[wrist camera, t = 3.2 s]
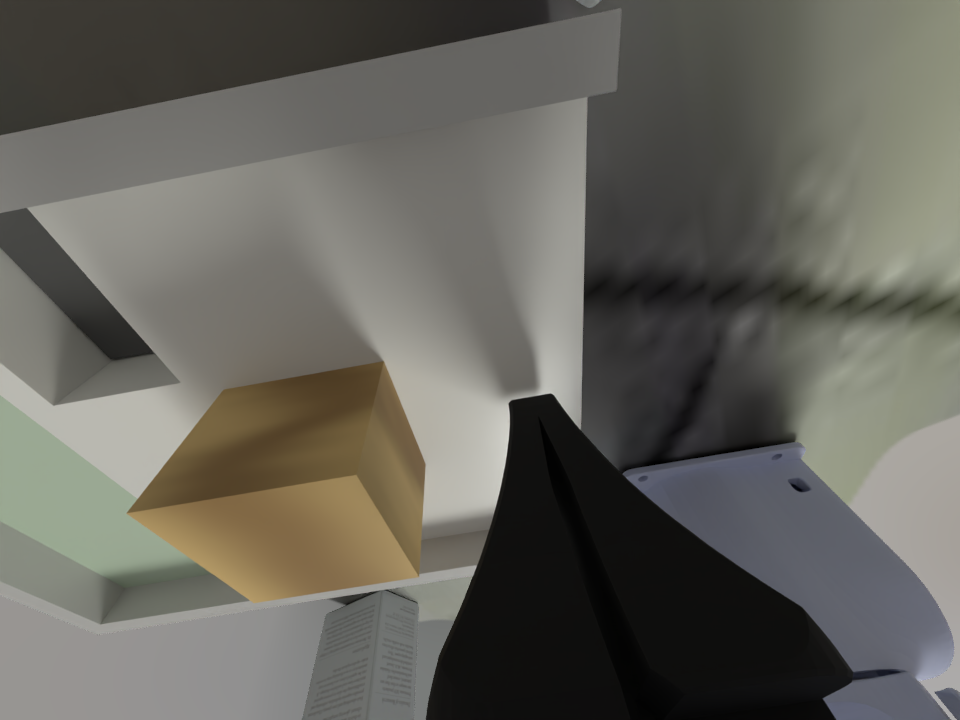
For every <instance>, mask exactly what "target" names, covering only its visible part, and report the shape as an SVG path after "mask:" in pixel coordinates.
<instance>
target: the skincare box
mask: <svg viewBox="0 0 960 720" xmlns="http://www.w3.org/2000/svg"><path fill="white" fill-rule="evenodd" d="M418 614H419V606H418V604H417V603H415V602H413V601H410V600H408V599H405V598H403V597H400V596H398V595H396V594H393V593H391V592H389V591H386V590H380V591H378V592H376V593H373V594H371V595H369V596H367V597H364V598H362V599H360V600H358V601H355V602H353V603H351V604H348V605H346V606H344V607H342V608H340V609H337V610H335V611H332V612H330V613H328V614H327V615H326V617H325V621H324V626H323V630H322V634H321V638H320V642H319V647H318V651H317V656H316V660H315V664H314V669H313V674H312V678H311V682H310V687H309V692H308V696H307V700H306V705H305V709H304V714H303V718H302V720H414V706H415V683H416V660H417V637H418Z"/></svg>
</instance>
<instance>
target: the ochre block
mask: <svg viewBox="0 0 960 720" xmlns="http://www.w3.org/2000/svg"><path fill="white" fill-rule="evenodd" d="M425 467H426V464H425V461H424V459H423V456H422V454H421V451H420V449H419V446H418V444H417V441H416V439H415V436H414V434H413V431H412V429H411V427H410V424H409V422H408V419H407V417H406V414H405V412H404V409H403V407H402V404H401V402H400V399H399V397H398V394H397V392H396V390H395V387H394V385H393V382H392V380H391V377H390V375H389V372H388V370H387V367H386V365H385V362H384V361H382V362H376V363H371V364H365V365H360V366H354V367H348V368H343V369H337V370H331V371H326V372H320V373H315V374H309V375H303V376H298V377H292V378H286V379H281V380H275V381H269V382H264V383H258V384H253V385H247V386H241V387H236V388H230V389H224V390H223V391H222V392H221V393H220V395H219V396H218V397H217V399H216V400H215V401H214V402H213V404H212V405H211V406H210V407H209V409H208V410H207V411H206V413H205V414H204V415H203V416H202V418H201V419H200V420H199V421H198V423H197V424H196V425H195V427H194V428H193V429H192V430H191V432H190V433H189V434H188V435H187V437H186V438H185V439H184V441H183V442H182V443H181V444H180V446H179V447H178V448H177V449H176V451H175V452H174V453H173V455H172V456H171V457H170V458H169V460H168V461H167V462H166V463H165V465H164V466H163V467H162V469H161V470H160V471H159V472H158V474H157V475H156V476H155V477H154V479H153V480H152V481H151V483H150V484H149V485H148V486H147V488H146V489H145V490H144V491H143V493H142V494H141V495H140V497H139V498H138V499H137V500H136V502H135V503H134V504H133V505H132V507H131V508H130V509H129V511H128V512H127V513H126V514H128V515H129V516H131V517H132V518H133V519H135V520H136V521H138V522H139V523H141V524H142V525H143V526H145V527H146V528H148V529H149V530H150V531H152V532H153V533H155V534H156V535H158V536H159V537H160V538H162V539H163V540H165V541H166V542H168V543H169V544H170V545H172V546H173V547H175V548H176V549H177V550H179V551H180V552H182V553H183V554H185V555H186V556H187V557H189V558H190V559H192V560H193V561H195V562H196V563H197V564H199V565H200V566H202V567H203V568H205V569H206V570H207V571H209V572H210V573H212V574H213V575H214V576H216V577H217V578H219V579H220V580H222V581H223V582H224V583H226V584H227V585H229V586H230V587H232V588H233V589H234V590H236V591H237V592H239V593H240V594H241V595H243V596H244V597H246V598H247V599H249V600H250V601H251V602H253V603H259V602H265V601H271V600H278V599H284V598H290V597H297V596H303V595H309V594H316V593H322V592H328V591H335V590H341V589H347V588H354V587H360V586H366V585H373V584H379V583H386V582H392V581H398V580H405V579H411V578H417V577H419V572H420V554H421V537H422V519H423V502H424V484H425Z"/></svg>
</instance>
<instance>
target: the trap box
mask: <svg viewBox="0 0 960 720" xmlns="http://www.w3.org/2000/svg"><path fill="white" fill-rule="evenodd" d="M621 12H622V8H619V9H614V10H610V11H605V12H600V13H595V14H590V15H585V16H580V17H575V18H570V19H566V20H561V21H556V22H551V23H546V24H541V25H536V26H531V27H527V28H522V29H517V30H512V31H507V32H502V33H497V34H492V35H488V36H483V37H478V38H473V39H468V40H463V41H458V42H453V43H449V44H444V45H439V46H434V47H429V48H424V49H419V50H414V51H409V52H405V53H400V54H395V55H390V56H385V57H380V58H375V59H370V60H366V61H361V62H356V63H351V64H346V65H341V66H336V67H331V68H327V69H322V70H317V71H312V72H307V73H302V74H297V75H292V76H287V77H283V78H278V79H273V80H268V81H263V82H258V83H253V84H248V85H244V86H239V87H234V88H229V89H224V90H219V91H214V92H209V93H205V94H200V95H195V96H190V97H185V98H180V99H175V100H170V101H166V102H161V103H156V104H151V105H146V106H141V107H136V108H131V109H126V110H122V111H117V112H112V113H107V114H102V115H97V116H92V117H87V118H83V119H78V120H73V121H68V122H63V123H58V124H53V125H48V126H44V127H39V128H34V129H29V130H24V131H19V132H14V133H9V134H4V135H0V596H3V597H5V598H8V599H10V600H13V601H15V602H18V603H20V604H23V605H25V606H27V607H30V608H32V609H35V610H37V611H40V612H42V613H45V614H47V615H50V616H52V617H55V618H57V619H59V620H62V621H65V622H67V623H69V624H72V625H74V626H77V627H79V628H82V629H84V630H87V631H89V632H91V633H94V634H97V635H100V634H106V633H112V632H119V631H125V630H131V629H138V628H144V627H150V626H156V625H163V624H170V623H176V622H182V621H189V620H195V619H201V618H208V617H214V616H221V615H227V614H233V613H239V612H246V611H252V610H259V609H265V608H272V607H278V606H284V605H290V604H297V603H303V602H309V601H316V600H323V599H329V598H335V597H342V596H348V595H354V594H361V593H367V592H374V591H380V590H386V589H393V588H399V587H405V586H412V585H418V584H424V583H431V582H437V581H444V580H450V579H456V578H463V577H469V576H473V575H474V572H475V570H476V567H477V564H478V562H479V559H480V556H481V553H482V550H483V547H484V544H485V541H486V538H487V535H488V532H489V529H490V525H491V522H492V519H493V515H494V512H495V508H496V504H497V500H498V496H499V492H500V488H501V483H502V478H503V473H504V468H505V463H506V457H507V449H508V441H509V429H510V412H509V405H508V403H509V402H510V401H511V400H515V399H521V398H526V397H532V396H538V395H544V394H550V393H551V394H553V395H554V396H555V397H556V399H557V400H558V402H559V403H560V404H561V406H562V407H563V409H564V410H565V411H566V413H567V414H568V415H569V417H570V418H571V419H572V420H573V422H574V423H575V424H576V425H577V426H578V428H579V429H580V430H581V402H582V350H583V299H584V247H585V195H586V143H587V97H590V96H595V95H600V94H605V93H610V92H615V91H617V80H618V63H619V46H620V29H621ZM382 361H384V362H385V365H386V367H387V370H388V372H389V375H390V377H391V380H392V382H393V385H394V387H395V390H396V392H397V394H398V397H399V399H400V402H401V404H402V407H403V409H404V412H405V414H406V417H407V419H408V422H409V424H410V427H411V429H412V431H413V434H414V436H415V439H416V441H417V444H418V446H419V449H420V451H421V454H422V456H423V459H424V461H425V464H426V467H425V484H424V502H423V519H422V537H421V554H420V572H419V577H417V578H411V579H405V580H398V581H392V582H386V583H379V584H373V585H366V586H360V587H354V588H347V589H341V590H335V591H328V592H322V593H316V594H309V595H303V596H297V597H290V598H284V599H278V600H271V601H265V602H259V603H253V602H251V601H250V600H249V599H247V598H246V597H244V596H243V595H241V594H240V593H239V592H237V591H236V590H234V589H233V588H232V587H230V586H229V585H227V584H226V583H224V582H223V581H222V580H220V579H219V578H217V577H216V576H214V575H213V574H212V573H210V572H209V571H207V570H206V569H205V568H203V567H202V566H200V565H199V564H197V563H196V562H195V561H193V560H192V559H190V558H189V557H187V556H186V555H185V554H183V553H182V552H180V551H179V550H177V549H176V548H175V547H173V546H172V545H170V544H169V543H168V542H166V541H165V540H163V539H162V538H160V537H159V536H158V535H156V534H155V533H153V532H152V531H150V530H149V529H148V528H146V527H145V526H143V525H142V524H141V523H139V522H138V521H136V520H135V519H133V518H132V517H131V516H129V515H128V514H126V513H127V512H128V511H129V509H130V508H131V507H132V505H133V504H134V503H135V502H136V500H137V499H138V498H139V497H140V495H141V494H142V493H143V491H144V490H145V489H146V488H147V486H148V485H149V484H150V483H151V481H152V480H153V479H154V477H155V476H156V475H157V474H158V472H159V471H160V470H161V469H162V467H163V466H164V465H165V463H166V462H167V461H168V460H169V458H170V457H171V456H172V455H173V453H174V452H175V451H176V449H177V448H178V447H179V446H180V444H181V443H182V442H183V441H184V439H185V438H186V437H187V435H188V434H189V433H190V432H191V430H192V429H193V428H194V427H195V425H196V424H197V423H198V421H199V420H200V419H201V418H202V416H203V415H204V414H205V413H206V411H207V410H208V409H209V407H210V406H211V405H212V404H213V402H214V401H215V400H216V399H217V397H218V396H219V395H220V393H221V392H222V391H223V390H224V389H230V388H236V387H241V386H247V385H253V384H258V383H264V382H269V381H275V380H281V379H286V378H292V377H298V376H303V375H309V374H315V373H320V372H326V371H331V370H337V369H343V368H348V367H354V366H360V365H365V364H371V363H376V362H382Z"/></svg>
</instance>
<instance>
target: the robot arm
mask: <svg viewBox="0 0 960 720" xmlns="http://www.w3.org/2000/svg"><path fill="white" fill-rule="evenodd" d="M508 405H509V412H510V429H509V441H508V449H507V457H506V463H505V468H504V473H503V478H502V483H501V488H500V492H499V496H498V500H497V504H496V508H495V512H494V515H493V519H492V522H491V525H490V529H489V532H488V535H487V538H486V541H485V544H484V547H483V550H482V553H481V556H480V559H479V562H478V564H477V567H476V570H475V572H474V575H473V577H472V580H471V583H470V585H469V588H468V590H467V593H466V595H465V598H464V600H463V603H462V605H461V608H460V610H459V612H458V615H457V617H456V619H455V621H454V624H453V626H452V628H451V630H450V633H449V635H448V637H447V639H446V641H445V644H444V646H443V648H442V650H441V653H440V655H439V658H438V663H437V667H436V670H435V675H434V678H433V683H432V687H431V692H430V696H429V701H428V708H427V716H426V720H951V719H950V718H949V717H948V716H947V714H946V713H945V712H944V711H943V709H942V708H941V707H940V706H939V705H938V703H937V702H936V701H935V700H934V699H933V697H932V696H931V695H930V694H929V693H928V691H927V690H926V689H925V688H924V686H923V685H922V684H921V683H920V682H919V681H921V680H926V679H930V678H934V677H937V676H939V675H941V674H942V673H944V672H945V671H946V670H947V669H948V668H949V667H950V665H951V662H952V659H953V654H954V642H953V637H952V634H951V631H950V628H949V626H948V623H947V621H946V619H945V617H944V615H943V614H942V612H941V610H940V608H939V606H938V604H937V603H936V601H935V600H934V598H933V597H932V595H931V594H930V592H929V591H928V589H927V588H926V587H925V585H924V584H923V583H922V582H921V580H920V579H919V578H918V577H917V575H916V574H915V573H914V572H913V571H912V570H911V569H910V568H909V567H908V566H907V565H906V563H905V562H904V561H903V560H902V559H900V557H899V556H898V555H897V554H895V552H893V550H891V549H890V548H889V546H888V545H886V544H885V543H884V542H883V541H882V540H881V539H880V538H879V537H878V536H877V535H876V534H875V533H874V532H873V531H872V530H871V529H870V528H869V527H868V526H867V525H866V524H865V523H864V522H863V521H862V520H861V519H860V518H859V517H858V516H857V515H856V514H855V513H854V512H853V511H852V510H851V509H850V508H849V507H848V506H847V505H846V504H845V503H844V502H843V501H842V500H841V499H840V498H839V497H838V496H837V495H836V494H835V493H834V492H833V491H832V490H831V489H830V488H829V487H828V486H827V485H826V484H825V483H824V482H823V481H822V480H821V479H820V478H819V477H818V476H817V475H816V474H815V473H814V472H813V471H812V470H811V469H810V468H809V467H808V466H807V465H806V464H805V463H804V462H803V461H802V460H801V458H802V456H803V455H804V453H805V451H806V449H805V447H804V446H803V445H802V444H801V443H798V442H792V443H786V444H780V445H774V446H768V447H762V448H756V449H750V450H743V451H737V452H731V453H725V454H719V455H713V456H707V457H701V458H695V459H689V460H683V461H676V462H670V463H664V464H658V465H652V466H646V467H640V468H634V469H629V470H627V471H625V472H624V473H623V474H622V473H621V472H619V471H618V470H617V469H616V468H615V467H614V466H613V465H612V464H611V463H610V462H609V461H608V460H607V459H606V458H605V457H604V455H603V454H602V453H601V452H600V451H599V450H598V449H597V448H596V447H595V446H594V445H593V444H592V442H591V441H590V440H589V439H588V438H587V437H586V436H585V435H584V434H583V432H582V431H581V430H580V429H579V428H578V426H577V425H576V424H575V423H574V422H573V420H572V419H571V418H570V417H569V415H568V414H567V413H566V411H565V410H564V409H563V407H562V406H561V404H560V403H559V402H558V400H557V399H556V397H555V396H554V395H553V394H551V393H550V394H544V395H538V396H532V397H526V398H521V399H515V400H511V401H510V402H509V403H508ZM935 694H936V695H937V696H938V697H939V699H940V700H941V701H942V702H943V703H944V705H945V706H946V707H947V708H948V709H949V711H950V712H951V713H952V714H953V716H954V717H955V718H956V719H957V720H960V692H958V691H957V690H954V689H953V688H946V689H944V690H941V691H937V692H935Z"/></svg>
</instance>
